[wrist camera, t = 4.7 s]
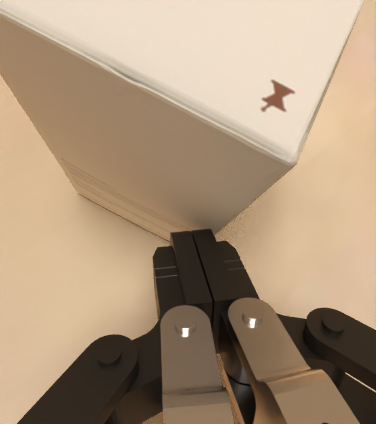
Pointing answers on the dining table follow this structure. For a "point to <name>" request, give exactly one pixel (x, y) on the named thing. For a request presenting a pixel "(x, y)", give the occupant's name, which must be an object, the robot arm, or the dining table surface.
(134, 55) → the supplement box
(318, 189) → the dining table surface
